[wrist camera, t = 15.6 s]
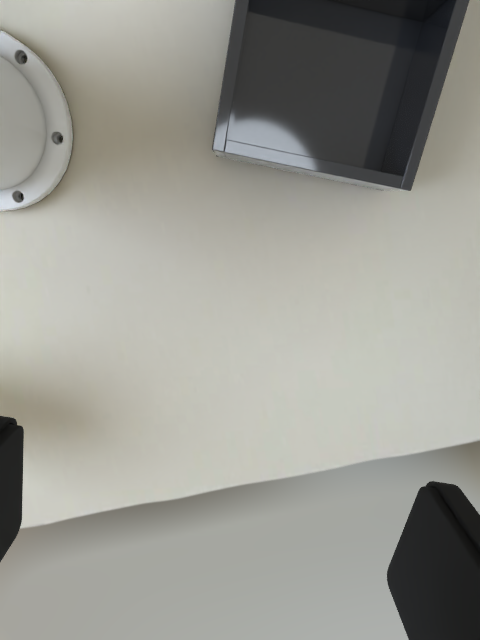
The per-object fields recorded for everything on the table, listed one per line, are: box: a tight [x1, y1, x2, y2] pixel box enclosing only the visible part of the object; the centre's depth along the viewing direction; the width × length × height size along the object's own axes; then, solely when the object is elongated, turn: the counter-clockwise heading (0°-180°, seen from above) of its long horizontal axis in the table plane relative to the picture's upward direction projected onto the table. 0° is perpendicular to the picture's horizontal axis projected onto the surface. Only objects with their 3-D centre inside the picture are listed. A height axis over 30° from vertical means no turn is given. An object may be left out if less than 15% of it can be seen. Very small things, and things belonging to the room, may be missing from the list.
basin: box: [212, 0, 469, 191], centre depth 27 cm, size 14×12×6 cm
